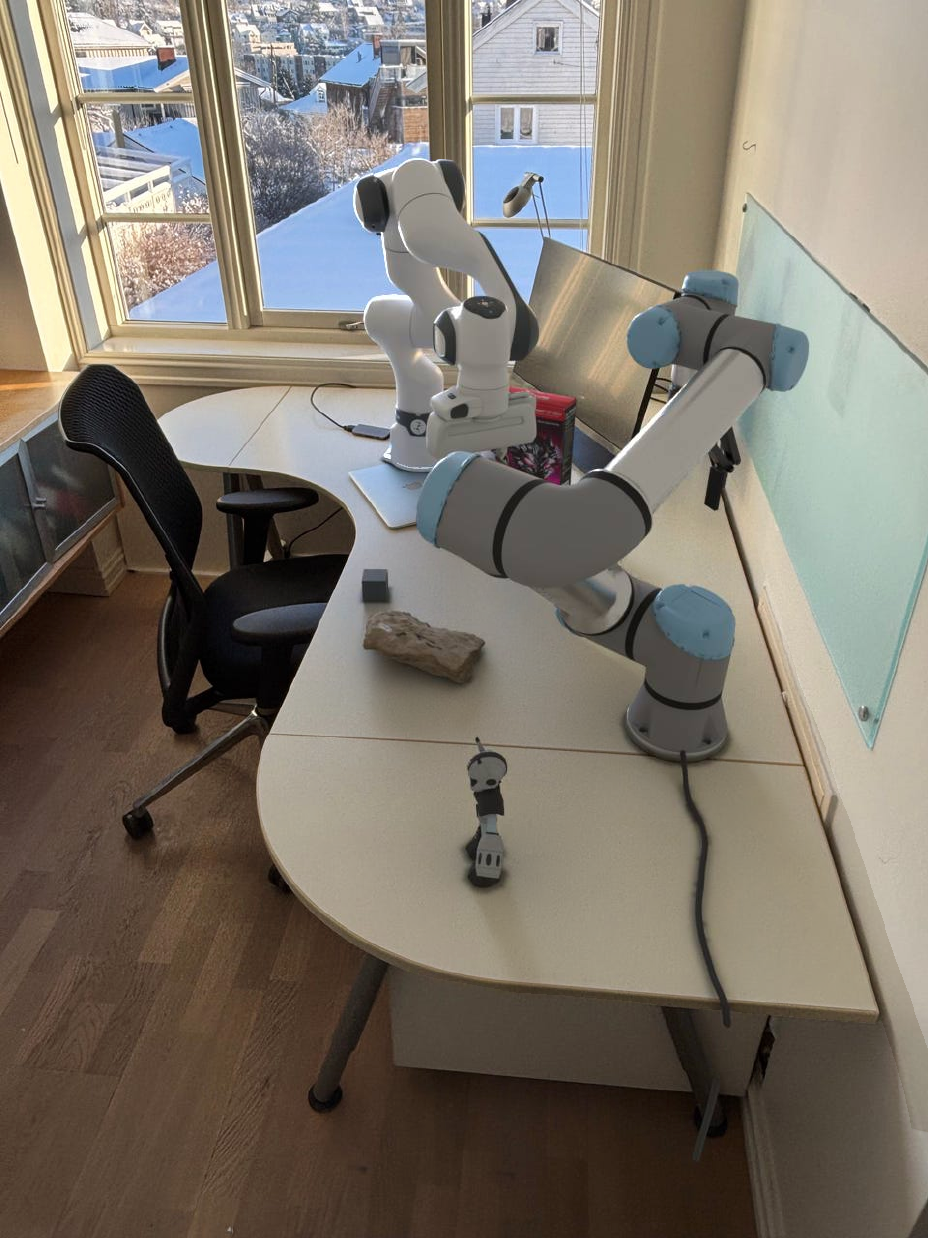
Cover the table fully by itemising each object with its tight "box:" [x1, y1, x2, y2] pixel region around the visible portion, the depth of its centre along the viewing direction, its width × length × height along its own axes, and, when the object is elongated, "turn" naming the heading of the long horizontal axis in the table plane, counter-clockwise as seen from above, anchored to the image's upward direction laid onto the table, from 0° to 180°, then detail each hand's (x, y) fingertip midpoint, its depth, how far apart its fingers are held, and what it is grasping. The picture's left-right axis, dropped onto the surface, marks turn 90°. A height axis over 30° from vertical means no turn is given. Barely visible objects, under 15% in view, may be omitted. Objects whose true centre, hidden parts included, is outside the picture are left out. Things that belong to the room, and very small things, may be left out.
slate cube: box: [361, 568, 389, 603], centre depth 174 cm, size 4×4×4 cm
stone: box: [362, 609, 486, 684], centre depth 156 cm, size 21×15×6 cm
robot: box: [465, 736, 508, 888], centre depth 115 cm, size 20×5×20 cm, turn 3°
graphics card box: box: [490, 385, 578, 486], centre depth 195 cm, size 17×7×27 cm, turn 62°
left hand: (481, 471), depth 165 cm, fingers closed on walnut bar, 4 cm apart
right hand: (676, 515), depth 146 cm, fingers open, 13 cm apart
